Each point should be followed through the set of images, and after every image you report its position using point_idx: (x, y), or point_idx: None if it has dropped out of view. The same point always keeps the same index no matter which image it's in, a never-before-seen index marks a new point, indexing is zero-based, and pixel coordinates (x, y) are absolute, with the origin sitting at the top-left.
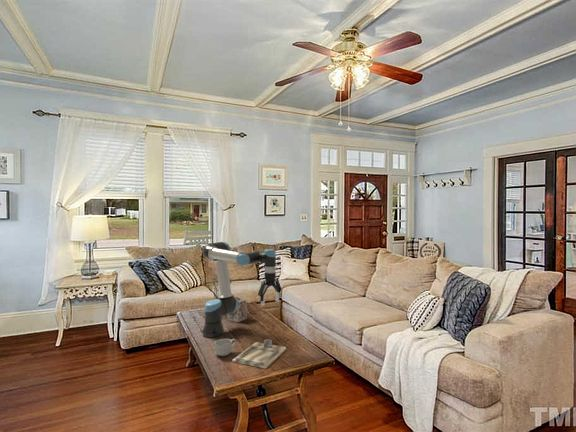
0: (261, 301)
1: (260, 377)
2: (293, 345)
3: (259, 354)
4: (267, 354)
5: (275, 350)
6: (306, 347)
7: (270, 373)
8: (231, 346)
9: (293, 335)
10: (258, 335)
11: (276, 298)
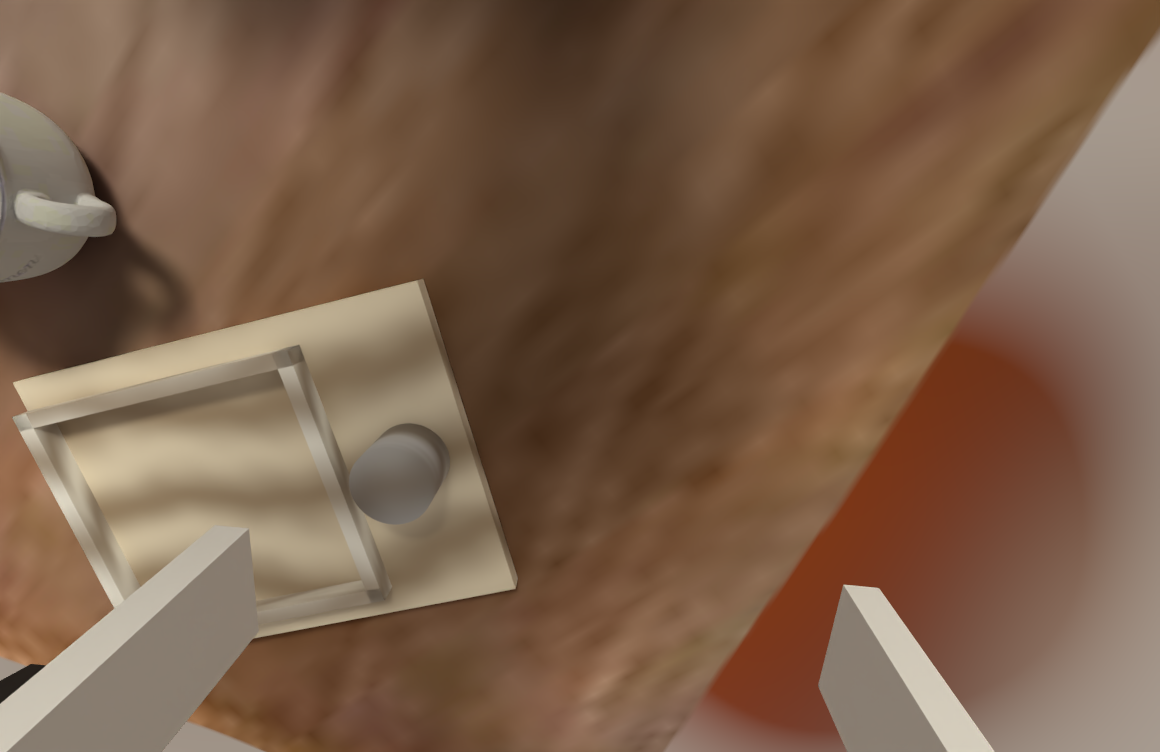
0: (116, 631)
1: None
2: (618, 583)
3: (251, 498)
4: (300, 549)
5: (359, 596)
6: (647, 682)
7: None
8: (19, 272)
9: (828, 455)
10: (613, 130)
11: (877, 699)
